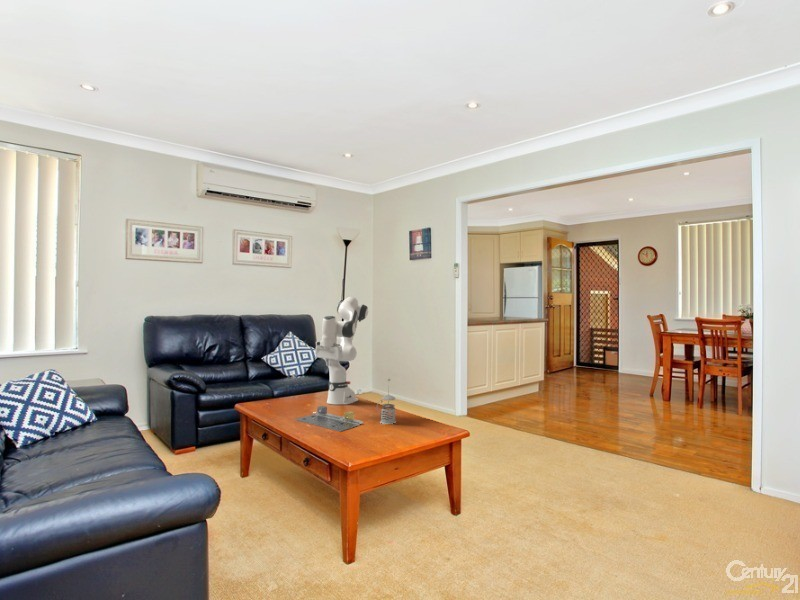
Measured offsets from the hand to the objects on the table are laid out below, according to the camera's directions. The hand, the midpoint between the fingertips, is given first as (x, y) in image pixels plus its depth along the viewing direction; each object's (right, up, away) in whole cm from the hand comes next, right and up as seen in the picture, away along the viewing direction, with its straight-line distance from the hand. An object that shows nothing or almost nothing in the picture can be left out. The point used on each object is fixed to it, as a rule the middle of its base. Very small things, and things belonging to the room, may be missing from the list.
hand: (328, 366), depth 278 cm
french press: (+35, -30, -16) cm, 49 cm away
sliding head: (+12, -28, -18) cm, 35 cm away
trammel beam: (+6, -29, -13) cm, 32 cm away
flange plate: (+1, -29, -19) cm, 35 cm away
